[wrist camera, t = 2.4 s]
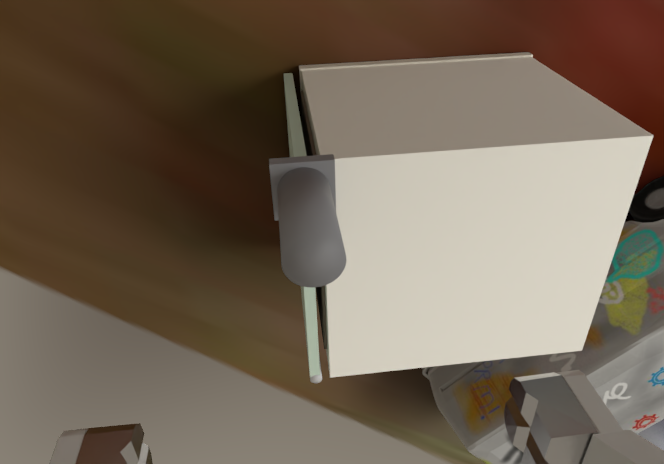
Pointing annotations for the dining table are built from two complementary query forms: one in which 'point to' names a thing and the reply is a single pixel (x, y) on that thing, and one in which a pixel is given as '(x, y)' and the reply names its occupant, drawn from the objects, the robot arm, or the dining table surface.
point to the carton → (466, 207)
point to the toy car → (596, 356)
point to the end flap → (306, 221)
